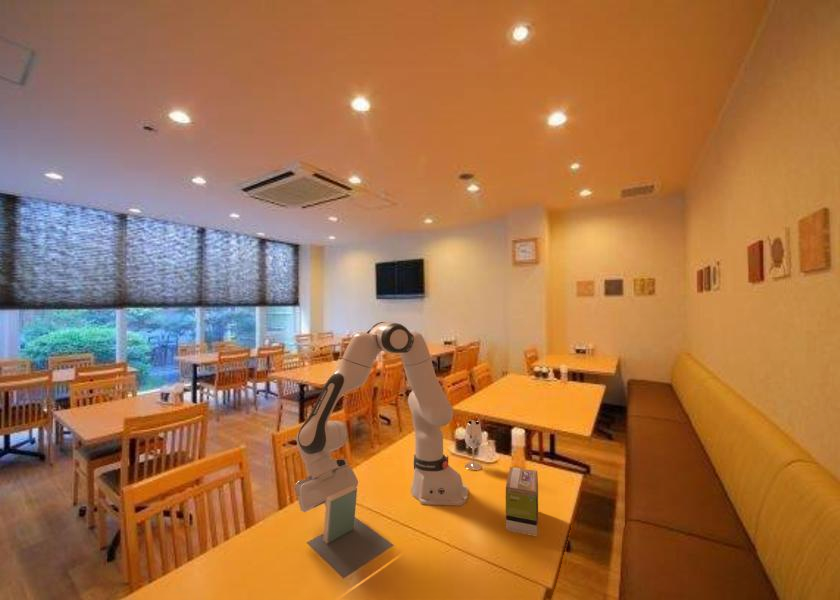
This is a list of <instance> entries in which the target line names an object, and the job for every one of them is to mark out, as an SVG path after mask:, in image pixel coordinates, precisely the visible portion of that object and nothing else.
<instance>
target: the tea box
mask: <svg viewBox="0 0 840 600" xmlns="http://www.w3.org/2000/svg"><path fill="white" fill-rule="evenodd" d="M538 477H539V475H538V470H534V469H529V468H528V469H526V468H521V467H520V468H519V467H512V466H509V471H508V475H507V480H506V484H505V530H506V531H508V530H509V532H514V531H515V532H514V533H517V532H519V533H518V534H522V533H525V534H524V535H527V534H530V535H529V536H532V535H536V536H535V537H538V524H539V523H538V522H539V478H538Z"/></svg>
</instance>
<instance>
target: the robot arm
mask: <svg viewBox="0 0 840 600" xmlns="http://www.w3.org/2000/svg"><path fill="white" fill-rule="evenodd" d="M381 352H387V353H391V354H399V355H400V357H401V361H402V365H403V369H404V372H405V376H406V379H407V383H408V385H409V386H410V387H409V388H411V392H410V393H409V394H408V397H407V403H408V407H409V409H410V412H411V414H410V415H411V419H412V423H413V424H412V425H413V429H414V430H413V432H414V448H415V449H414V455H413V470H414V471H413V479H412V484H411V487H410V494H411V496H413V497H414V498H415V499H417V500H418V501H419V503H420V504H422V505H429V506H430V505H433V506H434V505H436V506H437V505H439V506H462V505H464V504H466V502H467V501H468V498H469V489H468V486H467V485H466V484H465V483H463V479H462V476H461V474H460V473H459V472H458V471H457V470H455V469H454V468H453V467H452V466H450V464H449V456H448V455H447V456H445V454H444V434H443V431H442V429H441V428H442V427H446V426H448V425H449V424H450V423H451V421H452V420H453V417H454V408H453V406H452V403H450V401H449V399H448V398H447V396H446V394H445V392H444V389H443V388H442V386H441V383H440V382H439V379H438V377H437V375H436V372H435V368H434V365H433V361H432V358H431V354H430V351H429V348H428V345H427V343H426V341H425V338H424V336H423V335H422V334H421V333H420V332H418V331H417V332H416V331H409V329H408V328H407V327H406V326H405V325H403V324H401V323H397V322H393V321H387V322H386V321H381V322H377V323H376V324H374V325H373V326H371V328H370V329H369V330H368V331H367V332H364V331H363V332H357V333H355V334H354V335H353V336H352V337H351V339H350V341H349V343H348V345H347V347H346V349H345V351H344V353H343V356H342V358H341V361H340V363H339V365H338V367H337V369H336V370H335V371H334V373H333V374H332V375H331V376H330V377H329V378H328V380H327V381H326V383H325V385H324V387H323V389H321V392H320V393H319V396H318V398H317V400H316V403H315V404H314V406H313V408H312V410H311V412H310V413H309V416H308V417H307V419H306V420H305V421H304V422H303V424H301V425H302V426H301V427H300V428H299V431H298V432H297V434H296V445H297V449H298V452H299V455H300V457H301V460H302V461H303V462H304V464H305V465H304V467H305V471H306V474H307V477H305V478H302V479H300V480H298V481H297V482H296V483H295V485H294V487H293V489H294V492H295V494H296V496H297V500H298V505H299V509H300V511H302V513H306V512H308V511H310V510H313V509H314V508H315V509H316V508H318V507H319V506H322V505H323V504H324V507H326V498H327V497H328V496H331V495H333V494H335V493H337V492H339V491H342V490H344V489H346V488H348V487H351V486H353V485H354V486H355V487H356V488H358V486H359V480H358V478H357V476H356V474H355V472H354V470H353V469H352V467H350V466H349V462H348V459H346V458H332V456H331V453H332V452H334V451H337V450H338V449H340V448H342V447H343V446H344V445H346V443H347V440H348V438H349V437H348V436H349V431H348V428H347V425H346V424H345V423H344V422H343V421H341V420H330V418H331V416H332V413H333V411H334V409H335V407H336V405H337V403H338V401H339V400H340V399H341V398H342V397H343V395H346V394H347V393H350V392H351V391H354V390H356V389H358V388H360V387H362V386H364V385H365V383H366V382H367V380H368V379H369V377H370V374H371V372H372V369H373V366H374V363H375V359H376V357H377V356H378V355H379V354H380V353H381Z"/></svg>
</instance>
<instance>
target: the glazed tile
mask: <svg viewBox="0 0 840 600" xmlns="http://www.w3.org/2000/svg"><path fill="white" fill-rule="evenodd" d="M357 493H358V487H355V486H354V485H353V486H351V487H348V488H346V489H344V490H342V491H339V492H337V493H335V494H333V495H331V496H328V497H327V498H326V506H325V512H324V524H323V525H324V526H323V527H324V528H323V533H324V537H323V540H324V541H325V543H326V544H327V543H329V542H331V541H333V540H335V539H336V538H338V537H340V536H342V535H344V534H345V533H347V532H349V531H351V530H353V529H354V520H355V517H356V516H355V515H356V508H357V497H358V495H357Z"/></svg>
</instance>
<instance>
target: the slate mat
mask: <svg viewBox="0 0 840 600" xmlns="http://www.w3.org/2000/svg"><path fill="white" fill-rule="evenodd" d="M323 537H324V532H323V533H321V534H320V535H318V536H316V537H314V538H313V539H310V540H309V541H306V544H307V545H308V546H309V547H310V548H311V549H313V550H314V551H315V552H316V553H317V554H318V556H319V557H321V558H322V559H323V560H324V561H325V562H326V563H327V564H328V565H329V566H330V567H331V568H332V569H333V570H334V571H335V572H336V573H338V575H339V576H340V577H341V578H343V579H345V578H347V577H348V576H349V575H351V574H352V573H355V571H357V570H359V569H360V568H361V567H363V566H365V565H366V564H368V563H370V562H371V561H373V560H374V559H375V558H377V557H378V556H380V555H381V554H383V553H384V552H386V551H387V550H389V549H390V548H391V547H393V546H394V544H393V543H391V542H390V541H389V540H387V539H386V538H385V537H384V536H382V535H380V534H379V533H378V532H377V531H375V530H374V529H373V528H371V527H370V526H369V525H367V524H365V523H364V522H363V521H362V520H361V519H359V518H357V517H356V516H355V520H354V529H353V530H351V531H349V532H347V533H345V534H344V535H342V536H340V537H338V538H336V539H335V540H333V541H331V542H329V543H327V544H326V543H325V541H324V540H323Z"/></svg>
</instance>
